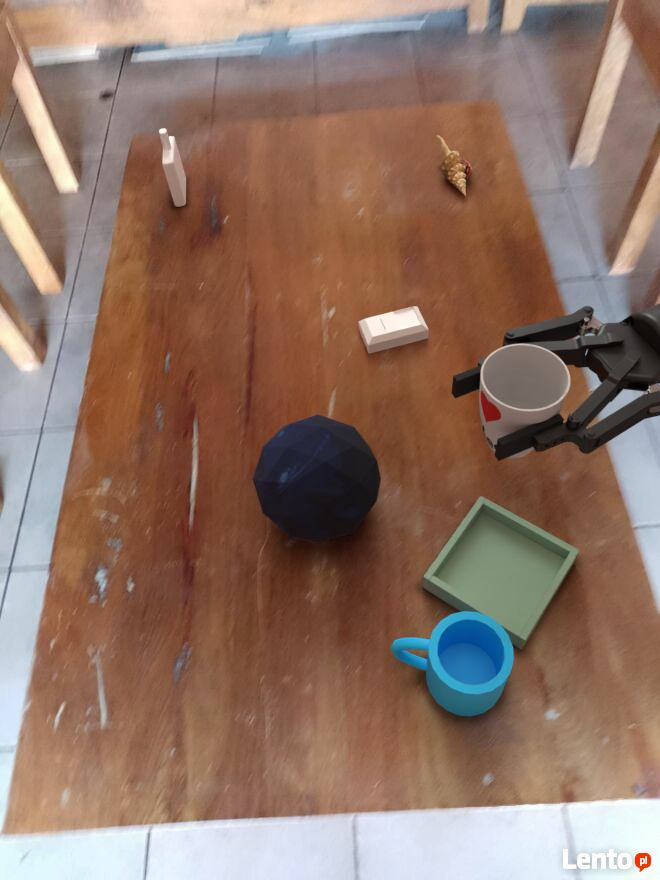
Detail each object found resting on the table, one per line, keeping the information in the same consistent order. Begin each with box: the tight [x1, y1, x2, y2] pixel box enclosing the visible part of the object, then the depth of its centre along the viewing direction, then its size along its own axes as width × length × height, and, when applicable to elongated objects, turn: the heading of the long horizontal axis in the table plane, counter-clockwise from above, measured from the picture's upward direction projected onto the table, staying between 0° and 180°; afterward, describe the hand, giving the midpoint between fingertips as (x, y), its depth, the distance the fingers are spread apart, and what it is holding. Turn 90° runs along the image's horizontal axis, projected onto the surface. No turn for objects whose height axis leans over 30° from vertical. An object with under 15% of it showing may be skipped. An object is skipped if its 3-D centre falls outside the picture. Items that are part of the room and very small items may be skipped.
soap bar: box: [357, 305, 430, 355], centre depth 103 cm, size 5×9×3 cm, turn 105°
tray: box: [422, 495, 581, 651], centre depth 81 cm, size 13×13×3 cm
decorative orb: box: [252, 414, 382, 544], centre depth 83 cm, size 14×15×15 cm
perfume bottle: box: [158, 127, 187, 208], centre depth 123 cm, size 8×2×12 cm, turn 6°
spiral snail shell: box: [436, 135, 474, 197], centre depth 123 cm, size 14×5×4 cm, turn 32°
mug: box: [390, 611, 515, 717], centre depth 73 cm, size 12×8×8 cm
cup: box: [478, 344, 571, 459], centre depth 70 cm, size 8×8×10 cm
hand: (475, 417), depth 68 cm, fingers closed on cup, 8 cm apart
